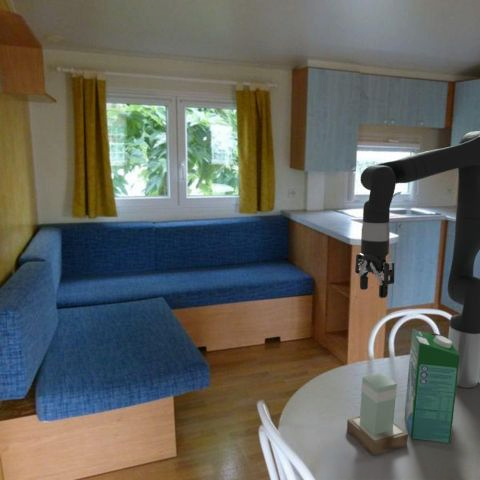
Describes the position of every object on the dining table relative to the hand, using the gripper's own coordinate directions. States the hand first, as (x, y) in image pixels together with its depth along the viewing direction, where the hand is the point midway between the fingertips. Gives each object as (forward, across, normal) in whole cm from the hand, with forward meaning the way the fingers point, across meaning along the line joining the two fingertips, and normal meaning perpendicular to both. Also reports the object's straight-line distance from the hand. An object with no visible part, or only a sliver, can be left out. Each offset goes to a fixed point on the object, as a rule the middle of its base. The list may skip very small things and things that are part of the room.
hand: (372, 293), depth 122 cm
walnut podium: (+29, -20, +13) cm, 38 cm away
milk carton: (+30, -22, -1) cm, 37 cm away
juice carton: (+26, -20, +13) cm, 36 cm away
